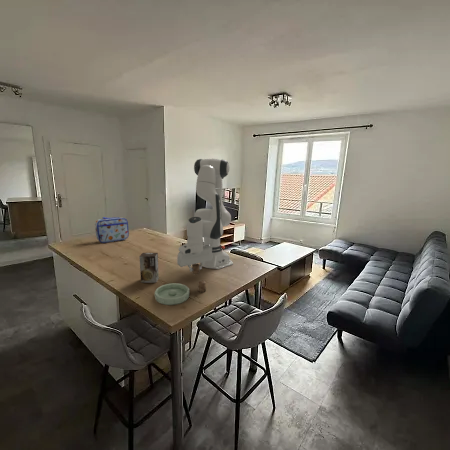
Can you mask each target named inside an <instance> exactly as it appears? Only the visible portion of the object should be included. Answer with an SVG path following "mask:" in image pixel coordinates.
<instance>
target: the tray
mask: <svg viewBox="0 0 450 450" xmlns="http://www.w3.org/2000/svg"><path fill="white" fill-rule="evenodd" d="M190 291H191V289H190V288H189V286H187V285H186V284H182V283H178V282H177V283H175V282H174V283H166V284H162V285H161V286H159V287H157V288H156V289H155V291H154V298H155V301H156V302H157V303H159V304H161V305H166V306H174V305H180V304H182V303H185V302H187V300H188V299H189V297H190Z"/></svg>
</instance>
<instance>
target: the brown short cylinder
mask: <svg viewBox="0 0 450 450" xmlns="http://www.w3.org/2000/svg"><path fill="white" fill-rule="evenodd" d="M197 284H198V288H197V289H198V290H197V291H198V292H199V293H206V291H207V281H206V280H199V281H198V283H197Z"/></svg>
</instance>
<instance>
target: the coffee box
mask: <svg viewBox="0 0 450 450" xmlns="http://www.w3.org/2000/svg"><path fill="white" fill-rule="evenodd" d="M139 270H140V271H139V272H140V283H153V284H154V283H157V282H158V280H159V278H160V277H159V275H160V274H159V255H158V252H142V253H141V254H140V255H139Z"/></svg>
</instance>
